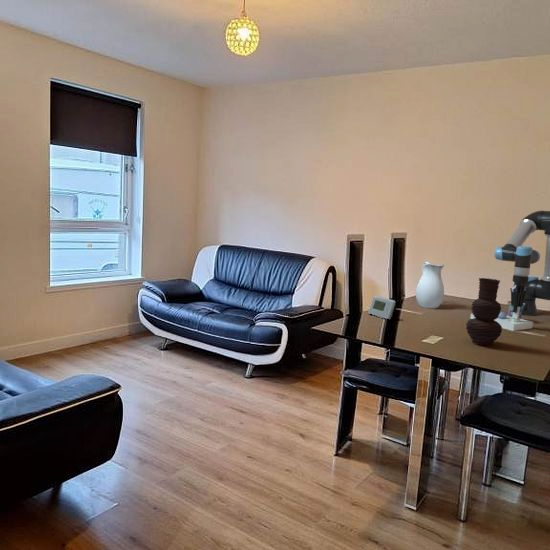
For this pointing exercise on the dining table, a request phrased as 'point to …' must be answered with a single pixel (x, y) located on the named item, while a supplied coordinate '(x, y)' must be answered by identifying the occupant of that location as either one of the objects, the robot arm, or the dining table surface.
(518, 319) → the sage button
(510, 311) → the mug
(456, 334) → the dining table surface
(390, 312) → the digital clock
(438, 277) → the pitcher
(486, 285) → the vase
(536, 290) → the robot arm
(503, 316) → the slate button
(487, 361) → the dining table surface
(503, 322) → the panel
